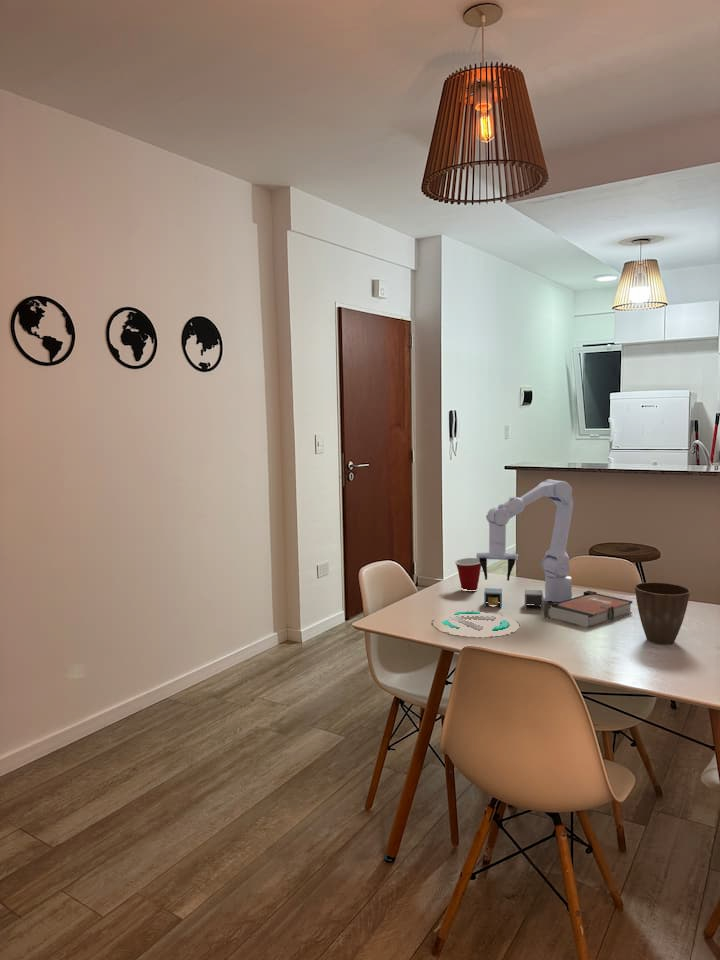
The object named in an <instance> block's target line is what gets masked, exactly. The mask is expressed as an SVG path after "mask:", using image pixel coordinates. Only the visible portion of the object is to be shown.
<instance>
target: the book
mask: <svg viewBox="0 0 720 960" xmlns="http://www.w3.org/2000/svg"><path fill="white" fill-rule="evenodd" d="M632 604H633V600H628V599H623V598H619V597H614V596H610V595H604V594H600V593H597V592H596V591H593V590H586V591H584V592H583V594H582V595H579V596H575V597H571V599H569V600H565V601H562V602H545V603H543V617H544V616H545V617H544V618H546V617H548V618H547V619H550V618H552V619H551V620H554V619H555V620H554V621H558V620H559V621H558V622H561V621H562V623H565V622H566V624H570V625H574V626H577V627H580V626H581V627H582V628H584V627H585V629H591V628H594V627H595V626H598V625H599V626H600V625H603V624H604V623H608V622H613V621H614V620H616V619H619V618H621V616H622V617H624V615H625V616H627V614H628V615H630V614H632V613H633V612H632V611H631V605H632ZM629 613H630V614H629ZM581 627H580V628H581Z"/></svg>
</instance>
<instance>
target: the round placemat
mask: <svg viewBox="0 0 720 960" xmlns="http://www.w3.org/2000/svg"><path fill="white" fill-rule="evenodd" d="M464 611H466V612H464ZM464 611H463V612H461V611H455V612H456V613H455V614H454V615H459V614H480V613H481V612H480V611H478V612H474V611H475V610H472V611H471V610H464ZM469 611H471V612H469ZM449 618H451V619H452V620H455V621H458V622H459V623H462V624H464V625H466V626H467V627H471V628H473V629H475V630H478V631H480V630H482V629H483V626H480V625H476V624H474V623H472V622H468V621H465V620H466V619H469V620H471V619H474V620H477V619H478V620H487V621H488V620H491V621H494V620H495V619H496V617H494V616H491V617H489V616H486V617H484V616H480V617H479V616H475V617H474V616H472V617H469V616H467V617H464V616H461V617H458V616H456V617H449ZM463 619H465V620H463ZM448 621H449V620H444V622H443V621H442V623H443V624H444V625H446V626H447V625H448V626H449V627H451V628H456V629H459V628H460V627H457V626H455V625H452V624H451V623H450V622H448ZM509 626H510V624H509V622H507V621H506V620H503V621H501V622H500V625H499V626H495V627H494V628H493V629H492V631H498V630H503V629H506V628H508V627H509Z"/></svg>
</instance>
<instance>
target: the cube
mask: <svg viewBox="0 0 720 960" xmlns="http://www.w3.org/2000/svg"><path fill="white" fill-rule="evenodd" d="M488 605H497V606H498V607H499V604H498V595H488V603H487V606H488Z"/></svg>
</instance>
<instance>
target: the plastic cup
mask: <svg viewBox="0 0 720 960" xmlns="http://www.w3.org/2000/svg"><path fill="white" fill-rule="evenodd" d="M454 564H455V565H456V568H457V572H458V579H459V582H460V588H463V589H467V590H476V589H477V590H478V586H479V585H478V584H479V580H480V576H481V575H480V574H481V569H482V566H481V564H480V559H476V557H467V558H466V557H465V558H459V559H456V560H455V561H454Z"/></svg>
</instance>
